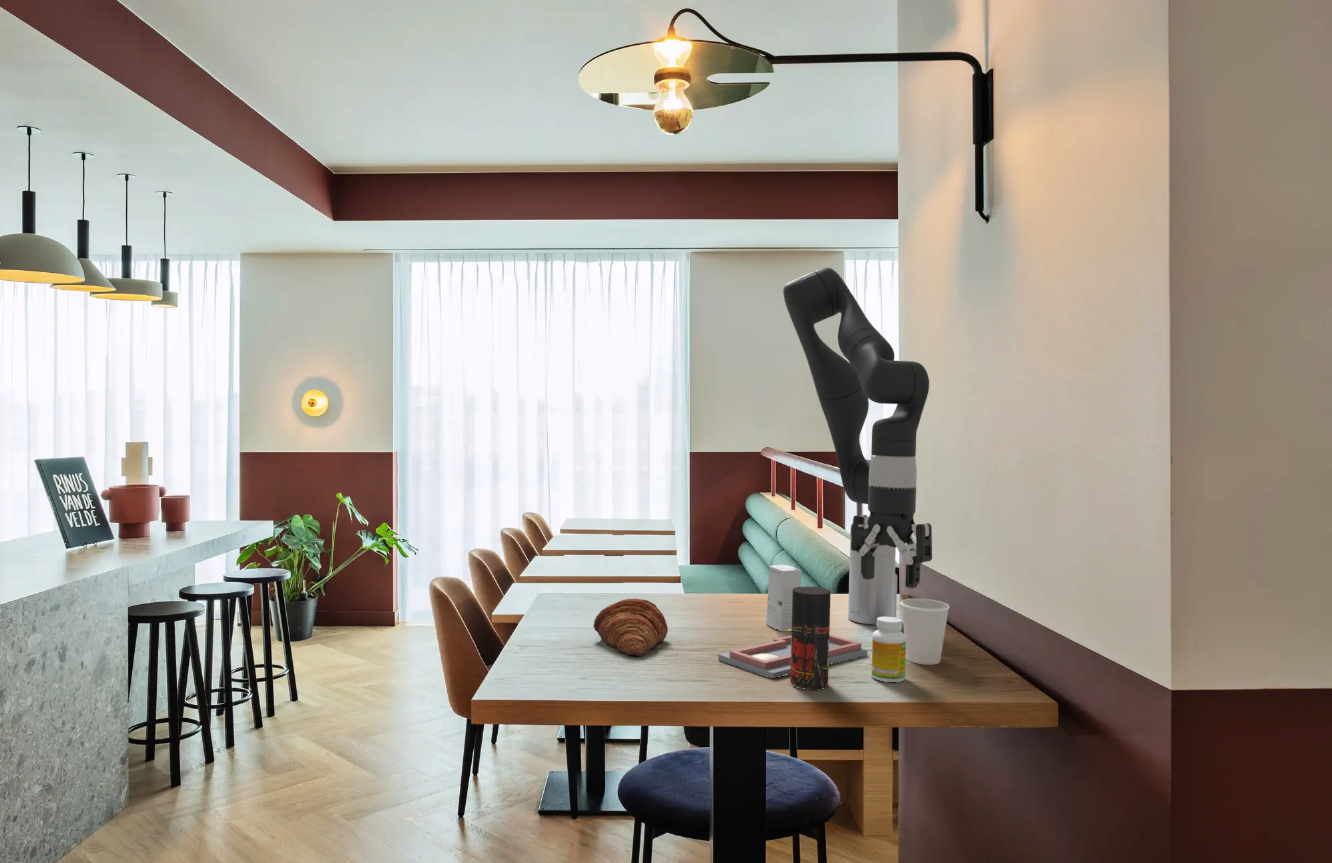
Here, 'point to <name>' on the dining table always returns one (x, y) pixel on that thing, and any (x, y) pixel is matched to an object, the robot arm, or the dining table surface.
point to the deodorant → (810, 637)
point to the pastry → (631, 626)
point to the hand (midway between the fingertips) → (889, 582)
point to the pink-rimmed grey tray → (785, 655)
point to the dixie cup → (924, 629)
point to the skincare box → (781, 595)
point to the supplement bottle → (888, 650)
